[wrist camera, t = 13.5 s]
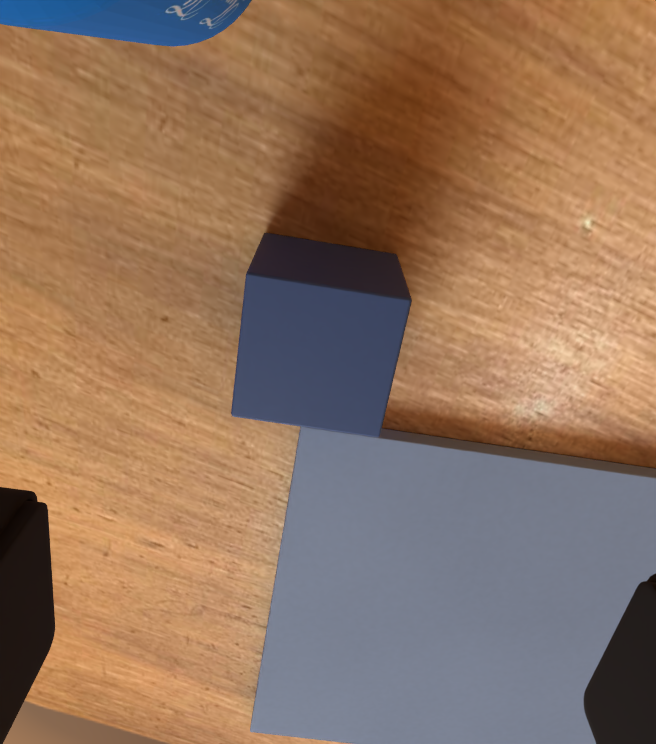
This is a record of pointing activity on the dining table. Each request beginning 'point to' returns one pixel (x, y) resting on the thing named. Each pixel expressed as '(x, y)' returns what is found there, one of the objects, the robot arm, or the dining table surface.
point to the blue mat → (447, 590)
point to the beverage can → (127, 18)
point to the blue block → (319, 335)
